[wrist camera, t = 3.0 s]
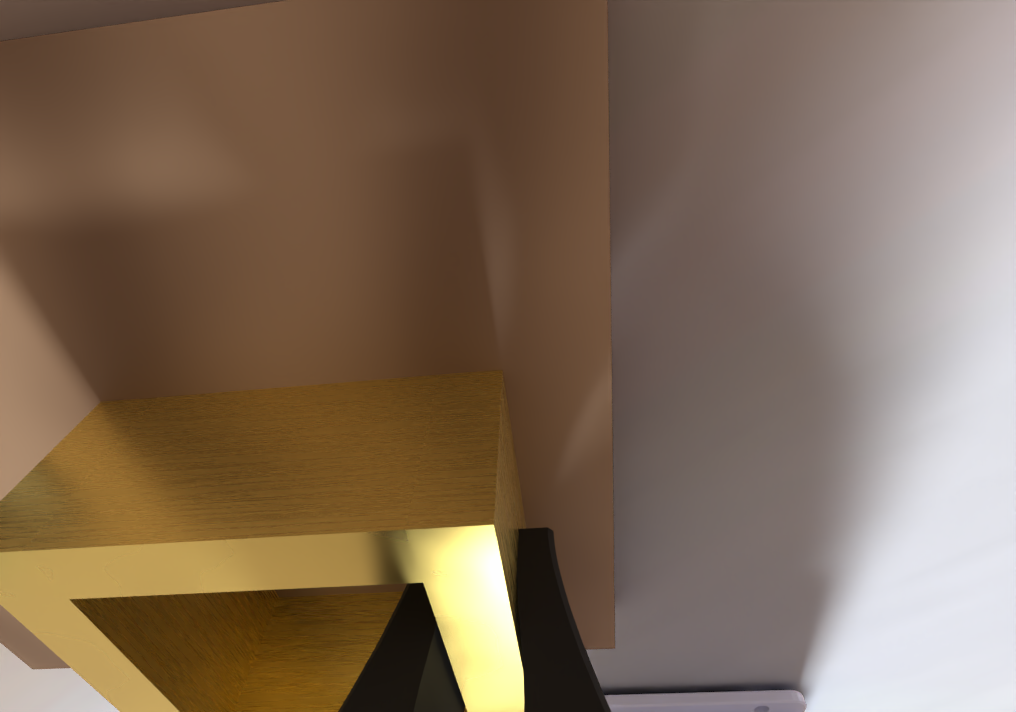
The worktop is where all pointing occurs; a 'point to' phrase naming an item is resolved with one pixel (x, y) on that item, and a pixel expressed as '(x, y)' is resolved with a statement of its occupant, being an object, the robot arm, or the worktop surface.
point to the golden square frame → (271, 541)
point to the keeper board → (319, 230)
